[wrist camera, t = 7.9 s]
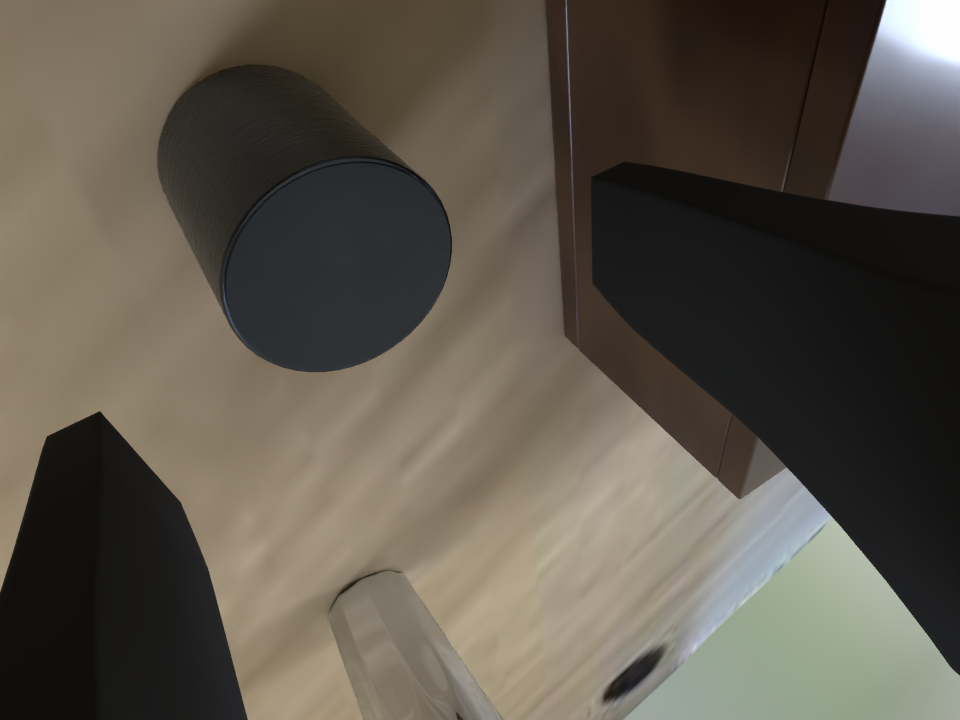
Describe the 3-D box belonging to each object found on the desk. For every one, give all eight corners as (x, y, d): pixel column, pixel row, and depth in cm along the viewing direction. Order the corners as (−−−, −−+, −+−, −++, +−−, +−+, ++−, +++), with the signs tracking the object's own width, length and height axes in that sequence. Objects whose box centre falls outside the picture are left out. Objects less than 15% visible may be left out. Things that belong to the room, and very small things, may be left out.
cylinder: (318, 35, 12) (430, 117, 9) (369, 207, 15) (468, 311, 12) (114, 106, 11) (171, 223, 8) (210, 277, 14) (277, 409, 11)
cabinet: (536, -126, 13) (899, -55, 8) (949, -254, 16) (1385, -260, 11) (563, 336, 22) (739, 501, 17) (822, 194, 25) (1032, 298, 20)
